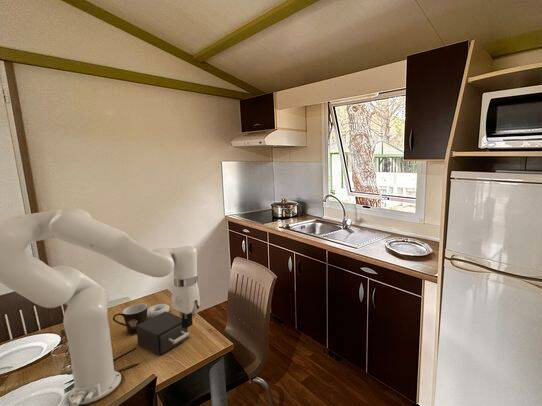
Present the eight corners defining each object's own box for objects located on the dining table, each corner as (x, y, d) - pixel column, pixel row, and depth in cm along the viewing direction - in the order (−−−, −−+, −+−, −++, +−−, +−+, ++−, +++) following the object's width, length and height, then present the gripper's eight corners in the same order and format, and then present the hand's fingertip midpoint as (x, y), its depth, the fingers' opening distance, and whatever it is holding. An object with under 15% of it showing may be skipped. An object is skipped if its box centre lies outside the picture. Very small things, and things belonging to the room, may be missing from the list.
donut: (174, 312, 133) (163, 306, 138) (173, 306, 132) (162, 300, 137) (151, 322, 124) (140, 315, 130) (150, 315, 124) (140, 309, 129)
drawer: (195, 340, 111) (194, 325, 110) (169, 356, 102) (168, 340, 101) (168, 329, 118) (167, 315, 117) (142, 343, 109) (141, 328, 108)
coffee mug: (154, 325, 123) (152, 304, 121) (138, 337, 114) (135, 315, 113) (130, 323, 124) (128, 302, 122) (112, 334, 115) (110, 312, 114)
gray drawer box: (187, 338, 114) (186, 319, 113) (159, 355, 104) (157, 335, 102) (167, 329, 120) (165, 311, 118) (138, 345, 109) (136, 325, 108)
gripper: (162, 279, 100) (164, 325, 102) (190, 288, 94) (191, 337, 96) (182, 272, 107) (183, 316, 109) (208, 280, 101) (209, 327, 103)
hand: (187, 326), depth 103 cm, fingers closed
